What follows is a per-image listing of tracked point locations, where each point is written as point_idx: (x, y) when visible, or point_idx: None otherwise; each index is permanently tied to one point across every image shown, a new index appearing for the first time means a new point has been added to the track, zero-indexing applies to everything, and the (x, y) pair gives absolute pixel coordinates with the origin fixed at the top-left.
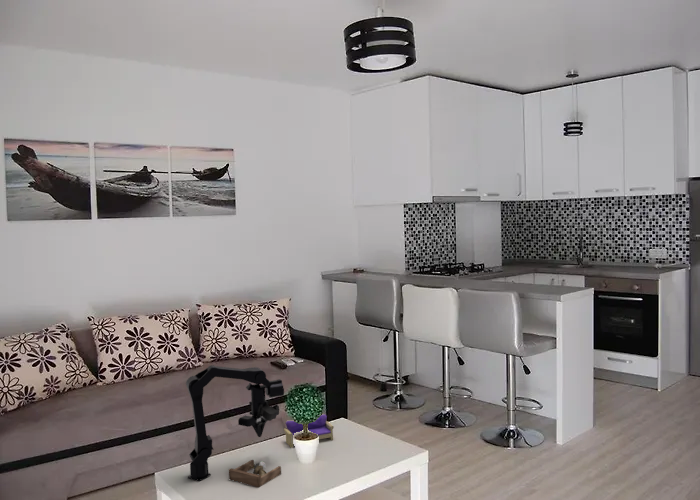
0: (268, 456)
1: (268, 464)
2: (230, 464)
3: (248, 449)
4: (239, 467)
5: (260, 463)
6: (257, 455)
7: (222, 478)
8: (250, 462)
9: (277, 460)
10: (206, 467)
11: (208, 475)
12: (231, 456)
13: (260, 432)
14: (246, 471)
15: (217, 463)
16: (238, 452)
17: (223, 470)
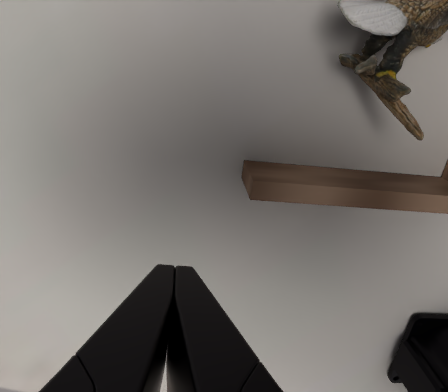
0: (20, 182)
1: (151, 89)
2: (249, 316)
3: (5, 361)
4: (409, 198)
5: (396, 27)
6: (51, 261)
7: (441, 239)
8: (292, 182)
9: (44, 62)
10: (445, 365)
11: (436, 318)
12: None
13: (197, 312)
14: (324, 167)
15: None
16: None
17: (336, 299)
